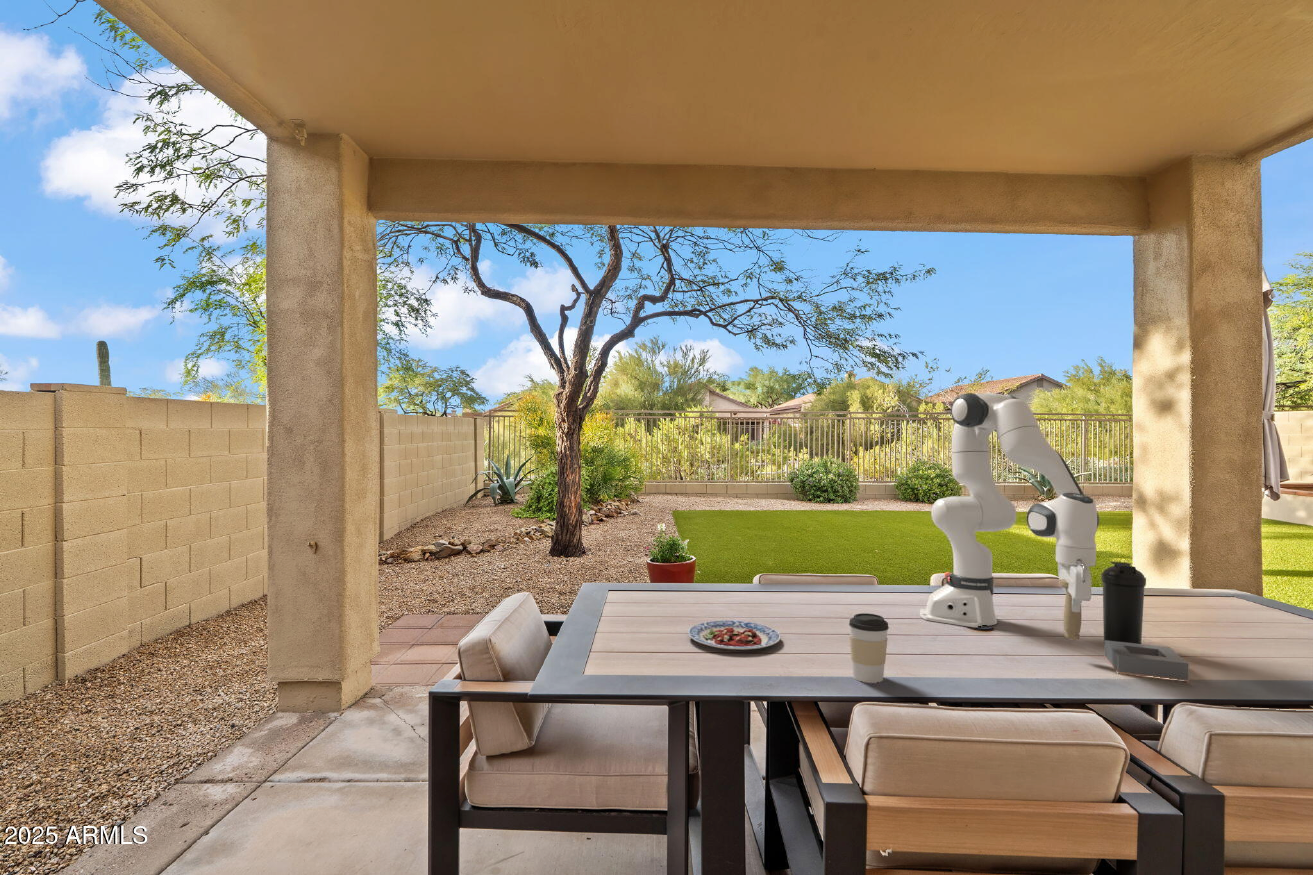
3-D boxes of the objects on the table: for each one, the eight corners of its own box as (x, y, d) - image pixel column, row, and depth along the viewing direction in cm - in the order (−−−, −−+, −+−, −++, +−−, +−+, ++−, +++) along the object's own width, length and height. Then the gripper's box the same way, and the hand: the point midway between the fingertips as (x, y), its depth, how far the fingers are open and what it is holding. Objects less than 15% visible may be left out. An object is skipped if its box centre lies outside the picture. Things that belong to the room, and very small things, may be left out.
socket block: (1118, 673, 162) (1118, 655, 162) (1104, 657, 174) (1104, 640, 174) (1188, 682, 157) (1188, 663, 157) (1168, 664, 169) (1169, 647, 169)
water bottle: (1137, 643, 186) (1138, 562, 186) (1150, 654, 177) (1152, 569, 176) (1095, 639, 189) (1096, 559, 189) (1106, 649, 180) (1108, 566, 180)
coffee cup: (842, 671, 162) (843, 610, 161) (878, 670, 162) (879, 609, 162) (857, 685, 152) (857, 620, 152) (894, 684, 153) (895, 620, 153)
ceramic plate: (790, 634, 191) (790, 624, 191) (766, 662, 168) (766, 650, 168) (707, 623, 202) (707, 613, 202) (673, 647, 179) (673, 636, 179)
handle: (1090, 641, 169) (1092, 583, 169) (1064, 641, 169) (1066, 583, 169) (1078, 635, 174) (1080, 579, 174) (1053, 634, 174) (1056, 578, 174)
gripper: (1099, 566, 160) (1097, 622, 161) (1080, 549, 179) (1078, 600, 180) (1069, 563, 162) (1067, 618, 163) (1054, 547, 181) (1052, 597, 182)
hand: (1073, 608), depth 171 cm, fingers closed on handle, 3 cm apart
